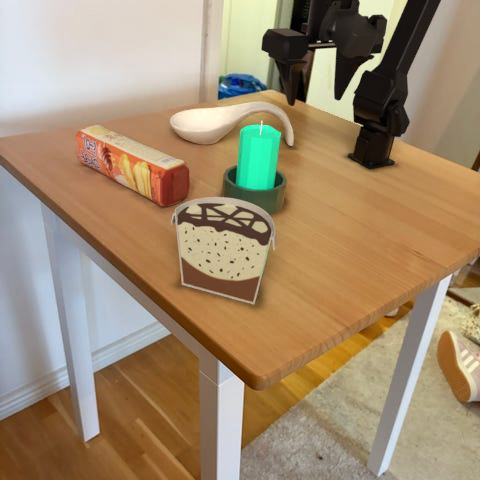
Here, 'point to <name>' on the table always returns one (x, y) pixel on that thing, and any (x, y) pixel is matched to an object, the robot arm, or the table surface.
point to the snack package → (134, 164)
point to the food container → (223, 246)
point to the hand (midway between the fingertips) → (314, 102)
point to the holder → (255, 191)
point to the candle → (257, 156)
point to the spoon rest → (222, 121)
